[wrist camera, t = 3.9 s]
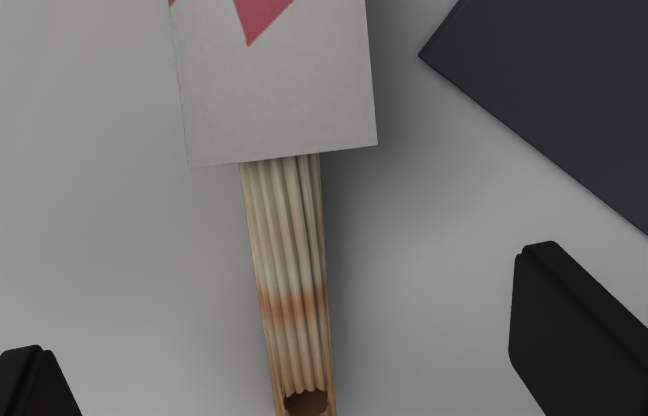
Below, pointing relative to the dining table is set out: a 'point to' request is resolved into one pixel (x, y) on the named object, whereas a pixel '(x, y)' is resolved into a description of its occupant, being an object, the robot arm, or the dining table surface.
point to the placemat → (560, 84)
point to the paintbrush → (279, 153)
